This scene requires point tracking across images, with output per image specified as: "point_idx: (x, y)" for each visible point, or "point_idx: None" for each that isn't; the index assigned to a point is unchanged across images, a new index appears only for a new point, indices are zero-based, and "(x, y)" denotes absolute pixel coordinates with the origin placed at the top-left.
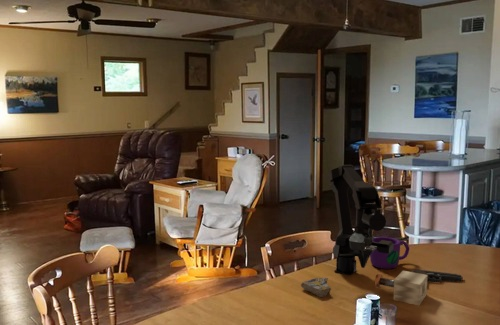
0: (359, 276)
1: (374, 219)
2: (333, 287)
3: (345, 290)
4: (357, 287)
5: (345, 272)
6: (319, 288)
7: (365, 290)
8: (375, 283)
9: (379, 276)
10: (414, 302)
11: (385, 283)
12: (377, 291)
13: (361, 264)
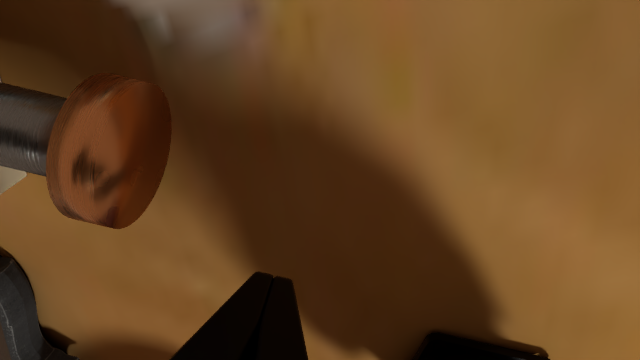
0: (365, 324)
1: None
2: (618, 54)
3: (480, 8)
4: (358, 129)
5: (470, 353)
6: None
7: (276, 79)
8: (130, 80)
9: (48, 147)
10: None
11: (22, 93)
12: (172, 89)
13: (282, 315)
